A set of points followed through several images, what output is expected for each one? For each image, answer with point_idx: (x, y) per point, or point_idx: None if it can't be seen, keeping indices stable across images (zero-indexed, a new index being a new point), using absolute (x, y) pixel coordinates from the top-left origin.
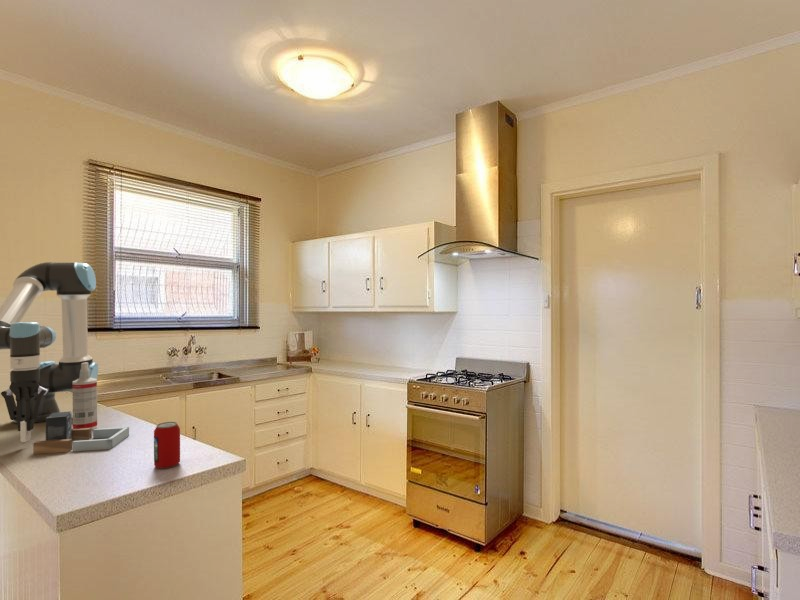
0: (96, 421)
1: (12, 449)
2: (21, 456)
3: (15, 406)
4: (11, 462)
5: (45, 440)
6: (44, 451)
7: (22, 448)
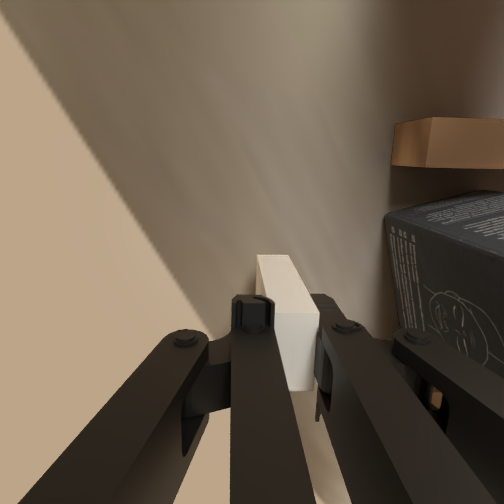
0: None
1: (204, 277)
2: None
3: (146, 458)
4: (323, 478)
5: (438, 392)
6: None
7: (252, 270)
